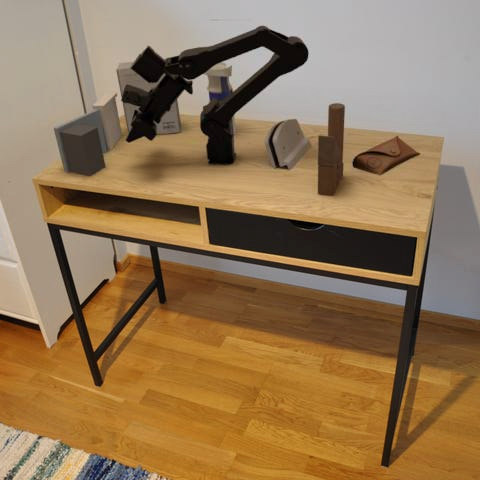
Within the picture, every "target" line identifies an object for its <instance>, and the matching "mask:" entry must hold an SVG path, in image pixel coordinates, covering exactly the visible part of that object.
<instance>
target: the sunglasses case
mask: <svg viewBox="0 0 480 480" xmlns="http://www.w3.org/2000/svg"><path fill="white" fill-rule="evenodd" d="M419 155H421V153H420V152H419V151H416V150H415V149H414V148H413V147H411V146H410V145H409V144H407V142H405V141H404V140H402V139H401V138H400V137H399V135H396V136H394V137H393V138H391V139H389V140H386V141H384V142H382V143H379V144H378V145H375V146H373V147H371V148H369V149H367V150H366V151H364V152H361V153H359V154H357V155H356V156H354V157H353V160H352V167H353V168H354V169H357V170H360V171H364V172H367V173H370V174H373V175H377V176H379V177H380V176H382V175H383V174H385V173H386V172H387V171H389V170H391V169H393V168H395V167H396V166H398V165H400V164H402V163H404V162H407V161H408V160H410V159H412V158H415V157H417V156H419Z"/></svg>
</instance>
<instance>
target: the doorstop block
mask: <svg viewBox="0 0 480 480" xmlns="http://www.w3.org/2000/svg"><path fill="white" fill-rule="evenodd" d="M60 133H61V137H62V142H63V146H64V150H65V154H66V158H67V162H68V166H69V170H70V171H69V172H70V173H73V174H76V175H82V176H85V177H92V176H93V175H95V174H97V173H99V172H101V171H102V170H104V169H105V168H106V162H105V158H104V157H105V156H104V153H103V152H102V147H101V142H100V137H99V132H98V127H92V126H86V125H80V124H76V125H74V126H72V127H70V128H68V129H65V130H63V131H61V132H60Z"/></svg>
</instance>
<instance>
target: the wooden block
mask: <svg viewBox="0 0 480 480" xmlns="http://www.w3.org/2000/svg"><path fill="white" fill-rule="evenodd" d="M327 113H328V116H327V118H328V119H327V120H328V121H327V135H318V138H317V139H318V140H317V143H318V144H317V147H318V148H317V165H318V166H317V194H318V195H322V196H330V197H331V196H334V194H335V191H336V190H337V186H338V185H339V184H340V182H341V181H342V178H343V176H344V162H343V160H344V159H343V158H344V136H345V135H344V134H345V113H346V106H345V104H343V103H340V102H336V103H335V102H334V103H331V104H329V105H328V111H327Z"/></svg>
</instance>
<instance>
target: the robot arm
mask: <svg viewBox="0 0 480 480" xmlns="http://www.w3.org/2000/svg"><path fill="white" fill-rule="evenodd" d="M261 47H262V48H265V49H267V50H269V51H270V52H272V53H273V55H272V56H271V57H270V59H269V60H268V61H267V63H265V64H264V65H263V66H261V67H260V68H259V69H258V70H257V71H256V72H255V73H253V74H252V75H251V76H250V77H249V78H247V80H245V81H244V82H243V83H242V84H240V85H239V86H238V87H237V88H236V89H234V90H233V91H234V92H232V93H231V94H230V95H229V96H228V97H227V98H225V99H223V100H220V101H217V99H216V98H215V97H214V98H213V99H212V100H211V102H210V103H209V102H208V103H209V104H206V105H203V106H202V111H200V112H201V113H200V114H199V119H200V120H199V127H200V128H199V129H200V130H201V132H202V133H203V135H204V136H207V137H208V138H207V142H206V144H205V146H206V156H207V160H208V161H207V163H208V165H233V164H234V163H235V159H236V156H237V153H236V150H235V139H234V138H235V137H234V136H235V135H232V130H231V123H230V121H231V119H232V118H233V116H234V117H235V115H236V113H237V112H239V111H240V110H241V109H242V108H243V107H245V106H247V104H248V103H249V102H252V100H253V99H255V97H257V96H258V95H259V94H261V92H262V91H264V90H265V89H266V88H267V87H269V86H270V85H271V84H272V83H274V82H275V81H276V80H277V79H278V78H279V77H282V76H284V75H287V74H290V73H291V72H293V71H295V70H297V69H299V68H301V67H302V66H304V65H305V64H306V62H307V61H308V59H309V55H310V53H309V49H308V47H307V45H306V43H305V42H304V41H303V39H301V37H299V36H296V35H295V36H292V35H291V36H287V35H285V34H283V33H281V32H278V31H275V30H274V29H271V28H269V27H267V26H266V25H259V26H257V27H256V28H254V29H252V30H248V31H246V32H244V33H242V34H238V35H236V36H233V37H231V38H228V39H225V40H223V41H221V42H218V43H215V44H213V45H209V46H202V47H201V46H199V47H195V48H188V49H185V50H183V51H181V52H180V54H179V55H175V56H171V57H167V58H163V57H162V56H161V55H160V54H158V52H156V51H155V50H154V49H153V48H152V47H151V46H150V45H147V46H146V48H145V49H144V50H143V51H142V52H141V53H139V54H138V55H137V57H136V59H135V60H134V61H133V62H134V63H133V64H132V66H131V68H130V69H132V70H133V71H134V72H135V73H137V74H138V75H139V76H141V77H142V78H143V79H144V80H146V81H147V82H148V83H151V82H152V83H154V82H155V83H156V82H157V81H158V80H159V79H160V78H161V76H162V75H163V74H164V73H165V74H166V75H165V76H164V77H163V78H162V80H161V81H160V82H159V83H158V85H157V86H156V87H155V88H153V89H151V90H150V91H149V92H147V91H144V90H143V89H140V88H137V87H134V86H131V85H128V84H127V85H126V86H125V88H124V91H123V95H122V97H121V99H120V101H121V102H122V103H123V102H124V103H129V104H132V105H135V106H138V107H139V109H138V110H139V111H137V110H135V111H134V115H133V118H132V122H131V126H132V128H131V130H130V132H129V134H128V133H127V135H126V136H127V137H126V139H125V141H126V142H127V143H128V144H130V143H133V142H135V141H137V140H139V139H141V138H143V137H144V138H146V139H147V140H148V141H151V142H152V141H153V140H154V139H155V138H156V136H157V135H158V134H157V125H156V124H155V123H154V121H155V122H156V123H157V124H159V123H160V122H161V118H162V117H163V116H164V114H165V113H166V112H167V111H168V112H169V111H170V109H171V106H172V105H173V103H174V102H175V101H176V100H178V98H179V97H180V96H181V95H182V94H183V92H184V91H185V92H187V93H188V94H189V95H193V94H194V92H193V91H194V89H193V88H194V87H193V84H194V82H193V81H194V80H196V79H197V78H198V77H199V78H200V76H202V75H205V74H204V73H205V72H207V71H208V70H209V69H211V68H212V67H213V66H215V65H216V64H218V63H221V62H223V63H224V62H226V61H228V60H230V59H233V58H236V57H239V56H241V55H244V54H246V53H249V52H251V51H254V50H256V49H259V48H261ZM164 59H165V60H164Z"/></svg>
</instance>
